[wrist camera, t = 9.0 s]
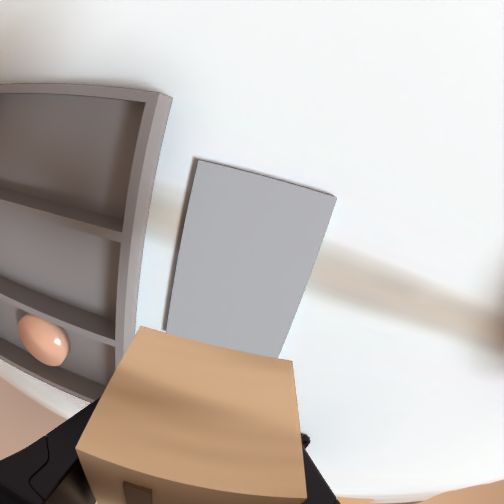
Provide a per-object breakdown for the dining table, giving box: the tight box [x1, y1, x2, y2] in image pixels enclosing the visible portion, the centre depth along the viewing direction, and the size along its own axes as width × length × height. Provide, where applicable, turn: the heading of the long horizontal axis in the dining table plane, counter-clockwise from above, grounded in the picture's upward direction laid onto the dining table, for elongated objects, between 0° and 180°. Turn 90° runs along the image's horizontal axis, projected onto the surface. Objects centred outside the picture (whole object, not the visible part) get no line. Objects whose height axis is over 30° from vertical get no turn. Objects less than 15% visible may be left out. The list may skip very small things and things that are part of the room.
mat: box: [166, 160, 337, 358], centre depth 19 cm, size 12×8×1 cm, turn 165°
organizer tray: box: [0, 83, 173, 403], centre depth 18 cm, size 23×16×2 cm
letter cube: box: [75, 326, 307, 504], centre depth 7 cm, size 4×4×5 cm
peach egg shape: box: [18, 313, 70, 366], centre depth 21 cm, size 5×5×1 cm
